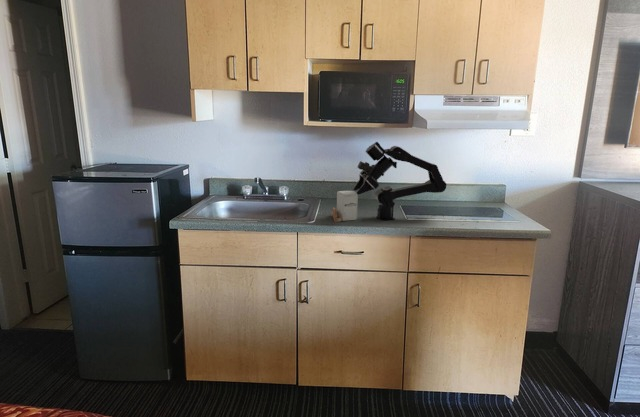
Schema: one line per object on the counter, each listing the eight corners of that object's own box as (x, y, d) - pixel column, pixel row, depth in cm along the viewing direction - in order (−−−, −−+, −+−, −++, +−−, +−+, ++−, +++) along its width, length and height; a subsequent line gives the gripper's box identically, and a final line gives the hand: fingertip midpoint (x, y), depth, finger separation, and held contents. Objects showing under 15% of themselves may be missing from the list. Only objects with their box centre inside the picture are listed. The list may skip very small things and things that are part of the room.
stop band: (338, 215, 201) (338, 207, 200) (341, 221, 191) (341, 213, 190) (332, 215, 201) (332, 207, 200) (334, 221, 191) (335, 213, 190)
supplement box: (342, 221, 191) (343, 194, 188) (336, 217, 198) (336, 190, 195) (357, 220, 194) (358, 193, 191) (350, 216, 201) (351, 189, 198)
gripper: (365, 152, 199) (341, 176, 201) (372, 157, 181) (346, 183, 183) (380, 169, 201) (356, 192, 203) (389, 176, 183) (363, 201, 185)
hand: (355, 191), depth 193 cm, fingers open, 9 cm apart
